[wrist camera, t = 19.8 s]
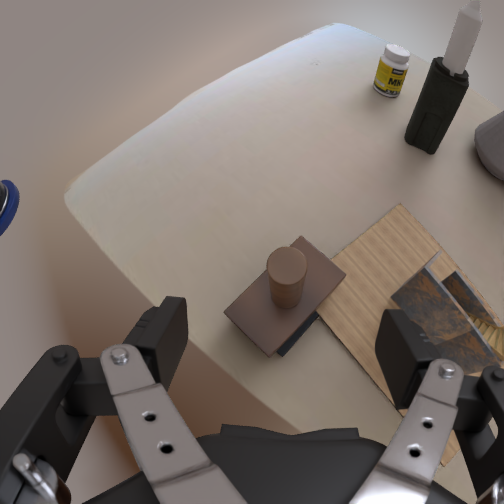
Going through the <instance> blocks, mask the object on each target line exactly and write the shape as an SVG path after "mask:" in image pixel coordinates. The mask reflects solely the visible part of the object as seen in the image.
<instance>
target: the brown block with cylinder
mask: <svg viewBox="0 0 504 504" xmlns="http://www.w3.org/2000/svg"><path fill="white" fill-rule="evenodd" d="M346 275H347V274H346V273H345V272H343V271H342V270H341V269H340V268H339V267H338V266H337V265H335V264H334V263H333V262H332V261H331V260H330V259H328V258H327V257H326V256H325V255H324V254H323V253H321V252H320V251H319V250H318V249H317V248H315V247H314V246H313V245H312V244H311V243H309V242H308V241H307V240H306V239H305V238H304V237H302V236H300V237H299V238H298V239H297V240H296V241H295V242H294V243H293V244H292V245H291V246H290V247H281V248H279V249H277V250H275V251H274V252H272V254H271V255H270V256H269V258H268V260H267V270H266V271H265V272H264V273H263V274H261V275H260V276H259V277H258V278H257V279H256V280H255V281H254V282H253V283H252V284H251V285H250V286H249V287H248V288H247V289H246V290H245V291H244V292H243V293H242V294H241V295H240V296H239V297H238V298H237V299H236V300H235V301H234V302H233V303H232V304H231V305H230V306H229V307H228V308H227V309H226V310H225V311H224V314H225V315H226V316H227V317H228V318H229V319H230V320H231V321H232V322H233V323H234V324H235V325H236V326H237V327H238V328H239V329H240V330H241V331H242V332H243V333H244V334H245V335H246V336H247V337H248V338H249V339H250V340H251V341H252V342H253V343H254V344H255V345H256V346H258V347H259V348H260V349H261V350H262V351H263V352H264V353H265V354H266V355H267V356H268V357H269V358H270V357H271V356H272V355H273V354H274V353H275V352H276V351H277V350H278V349H279V348H280V347H281V346H282V345H283V344H284V343H285V342H286V341H287V340H288V339H289V338H290V337H291V336H292V335H293V334H294V333H295V332H296V331H297V330H298V329H299V328H300V327H301V326H302V325H303V324H304V323H305V322H306V321H307V319H308V318H309V317H310V316H311V315H312V314H313V313H314V312H315V311H316V310H317V309H318V308H319V307H320V306H321V304H322V303H323V302H324V301H325V300H326V299H327V298H328V297H329V296H330V295H331V293H332V292H333V291H334V290H335V289H336V288H337V287H338V286H339V285H340V283H341V282H342V281H343V280H344V278H345V277H346Z"/></svg>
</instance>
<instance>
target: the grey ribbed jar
mask: <svg viewBox="0 0 504 504" xmlns="http://www.w3.org/2000/svg"><path fill="white" fill-rule="evenodd" d="M474 140H475V145H476V149H477V151H478V156H479V158H480V160H481V162H482V163H483V165H484V166H485V167H486V168H487V170H488V171H489V172H490V173H491V174H493V175H494V176H495V177H497V178H499V179H501V180H503V181H504V111H503V112H501V113H499V114H497V115H496V116H494V117H492V118H491V119H489V120H487V121H486V122H484V123H482V124H480V125H479V126H478V127H477V128H476V130H475V139H474Z"/></svg>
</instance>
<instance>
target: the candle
mask: <svg viewBox="0 0 504 504" xmlns="http://www.w3.org/2000/svg"><path fill="white" fill-rule="evenodd" d="M482 22H483V20H482V16H481V13H480V0H471V1H470V2H469V3H468V4H467V5H466V6H464V7H462V8H461V9H460V11H459V14H458V17H457V20H456V23H455V26H454V29H453V32H452V35H451V38H450V41H449V44H448V47H447V50H446V53H445V55H444V57H437V58H434V59H433V61H432V63H431V66H430V69H429V72H428V75H427V77H426V80H425V83H424V85H423V88H422V91H421V93H420V96H419V99H418V101H417V104H416V106H415V109H414V111H413V114H412V116H411V119H410V121H409V124H408V126H407V130H406V133H405V137H404V138H405V141H406V142H407V143H408V144H410V145H413V146H416V147H418V148H420V149H422V150H424V151H426V152H427V153H428V154H434V153H435V152H436V150H437V149H438V147H439V145H440V143H441V141H442V139H443V137H444V135H445V133H446V132H447V130H448V128H449V126H450V124H451V122H452V120H453V118H454V116H455V114H456V112H457V110H458V108H459V106H460V104H461V102H462V99H463V97H464V95H465V93H466V91H467V89H468V87H469V82H468V76H469V75H468V73H467V71H466V70H465V67H466V64H467V62H468V59H469V56H470V54H471V52H472V49H473V47H474V44H475V41H476V39H477V36H478V33H479V31H480V28H481V25H482Z"/></svg>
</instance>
